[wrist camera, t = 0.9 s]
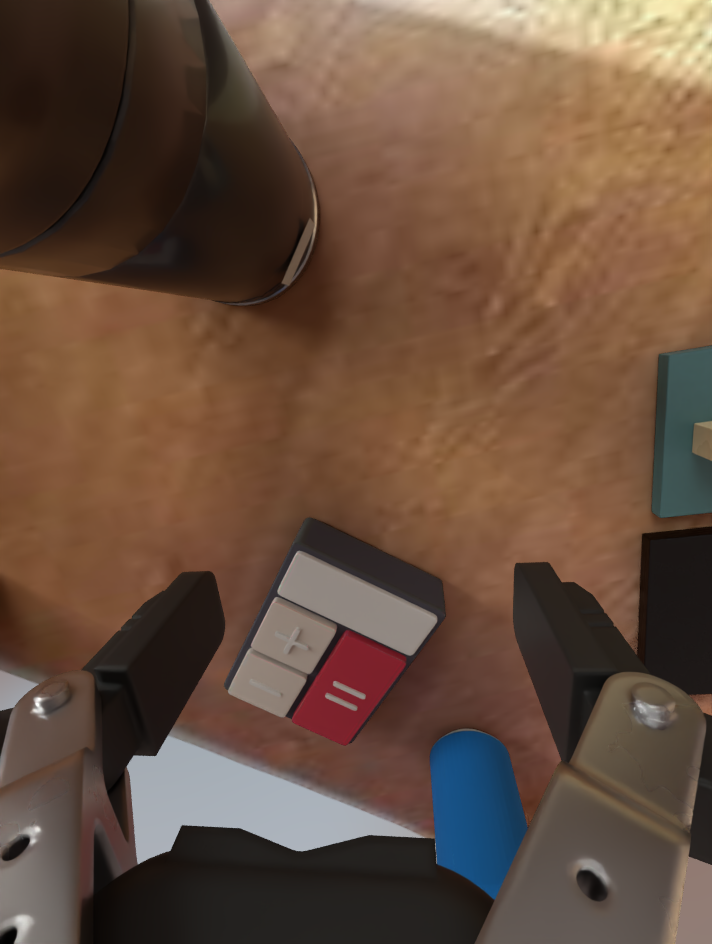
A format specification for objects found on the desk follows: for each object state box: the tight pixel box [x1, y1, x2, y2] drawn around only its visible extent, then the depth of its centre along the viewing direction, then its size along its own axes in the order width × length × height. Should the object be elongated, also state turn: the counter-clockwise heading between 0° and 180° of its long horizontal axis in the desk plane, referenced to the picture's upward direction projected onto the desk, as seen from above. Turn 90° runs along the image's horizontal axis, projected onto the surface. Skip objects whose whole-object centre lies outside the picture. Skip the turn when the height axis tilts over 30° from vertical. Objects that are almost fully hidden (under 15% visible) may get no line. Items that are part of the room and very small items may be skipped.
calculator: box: [224, 518, 446, 745], centre depth 30 cm, size 11×4×15 cm
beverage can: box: [430, 729, 528, 900], centre depth 30 cm, size 6×6×12 cm
